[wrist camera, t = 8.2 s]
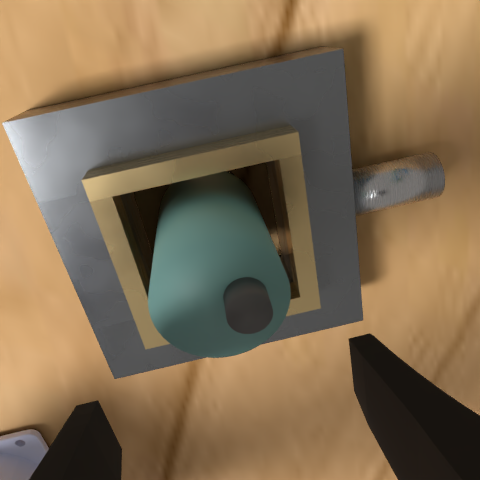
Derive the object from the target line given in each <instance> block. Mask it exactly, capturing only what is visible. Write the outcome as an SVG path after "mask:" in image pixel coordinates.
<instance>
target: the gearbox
mask: <svg viewBox="0 0 480 480" xmlns="http://www.w3.org/2000/svg"><path fill="white" fill-rule="evenodd" d="M2 124H3V126H4V128H5V131H6V133H7V135H8V137H9V140H10V142H11V144H12V147H13V149H14V151H15V153H16V156H17V158H18V160H19V163H20V165H21V167H22V169H23V172H24V174H25V176H26V178H27V181H28V183H29V185H30V188H31V190H32V192H33V194H34V197H35V199H36V201H37V203H38V206H39V208H40V210H41V213H42V215H43V217H44V219H45V222H46V224H47V226H48V229H49V231H50V233H51V235H52V238H53V240H54V242H55V244H56V247H57V249H58V251H59V254H60V256H61V258H62V260H63V263H64V265H65V267H66V269H67V272H68V274H69V276H70V279H71V281H72V283H73V285H74V288H75V290H76V292H77V294H78V297H79V299H80V301H81V304H82V306H83V308H84V310H85V313H86V315H87V317H88V320H89V322H90V324H91V326H92V329H93V331H94V333H95V335H96V338H97V340H98V342H99V345H100V347H101V349H102V351H103V354H104V356H105V358H106V360H107V363H108V365H109V367H110V370H111V372H112V374H113V376H114V379H117V378H121V377H126V376H130V375H134V374H138V373H143V372H147V371H151V370H155V369H159V368H164V367H168V366H172V365H176V364H181V363H185V362H189V361H193V360H197V359H202V358H206V357H201V356H197V355H192V354H189V353H187V352H184V351H182V350H180V349H178V348H176V347H175V346H173V345H172V344H170V343H169V342H168V341H167V340H165V339H164V338H163V337H162V336H161V334H160V333H159V332H158V331H157V329H156V328H155V326H154V324H153V322H152V320H151V317H150V313H149V308H148V293H149V285H150V278H151V270H152V262H153V253H152V250H151V247H150V244H149V241H148V238H147V235H146V232H145V229H144V225H143V222H142V219H141V216H140V213H139V210H138V207H137V204H136V201H135V198H134V195H133V192H135V191H140V190H144V189H148V188H153V187H157V186H162V185H166V184H171V183H175V182H180V181H184V180H189V179H193V178H197V177H202V176H206V175H211V174H215V173H220V172H224V171H229V170H233V169H238V168H242V167H246V166H251V165H255V164H260V163H264V162H266V166H267V172H268V178H269V184H270V190H271V196H272V202H273V208H274V214H275V220H276V226H277V232H278V238H279V244H280V250H281V256H279V258H280V260H281V262H282V265H283V267H284V269H285V272H286V274H287V276H288V279H289V283H290V290H291V298H290V305H289V309H288V312H287V314H286V317H285V319H284V321H283V322H282V324H281V325H280V327H279V328H278V329H277V331H276V332H275V333H274V334H273V335H272V336H271V337H270V338H268V339H267V340H266V341H265V342H263V343H262V344H265V343H269V342H273V341H278V340H282V339H286V338H290V337H295V336H299V335H303V334H307V333H311V332H316V331H320V330H324V329H328V328H333V327H337V326H341V325H345V324H349V323H354V322H358V321H362V320H363V311H362V298H361V284H360V270H359V257H358V243H357V229H356V216H357V215H361V214H366V213H370V212H374V211H379V210H383V209H387V208H392V207H396V206H400V205H405V204H409V203H414V202H418V201H422V200H427V199H431V198H435V197H439V196H440V195H441V194H442V192H443V190H444V186H445V176H444V170H443V167H442V164H441V162H440V160H439V159H438V157H437V156H436V155H435V154H434V153H431V152H428V153H423V154H419V155H415V156H410V157H406V158H401V159H397V160H392V161H388V162H384V163H379V164H375V165H370V166H366V167H362V168H357V169H353V170H352V161H351V147H350V134H349V120H348V106H347V92H346V79H345V65H344V51H343V49H342V48H333V47H323V46H322V47H317V48H312V49H308V50H303V51H299V52H294V53H289V54H285V55H280V56H276V57H271V58H266V59H262V60H257V61H253V62H248V63H243V64H239V65H234V66H230V67H225V68H220V69H216V70H211V71H207V72H202V73H198V74H193V75H188V76H184V77H179V78H175V79H170V80H165V81H161V82H156V83H152V84H147V85H142V86H138V87H133V88H129V89H124V90H119V91H115V92H110V93H106V94H101V95H96V96H92V97H87V98H83V99H78V100H73V101H69V102H64V103H60V104H55V105H51V106H46V107H41V108H37V109H32V110H28V111H25V112H23V113H21V114H19V115H17V116H15V117H13V118H11V119H9V120H7V121H5V122H3V123H2ZM260 345H261V344H260Z"/></svg>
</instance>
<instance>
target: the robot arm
mask: <svg viewBox="0 0 480 480" xmlns="http://www.w3.org/2000/svg"><path fill="white" fill-rule="evenodd" d="M349 345H350V355H351V364H352V374H353V383H354V391H355V394H356V396H357V399H358V401H359V404H360V406H361V409H362V411H363V413H364V416H365V418H366V421H367V423H368V425H369V427H370V429H371V431H372V433H373V435H374V436H375V438H376V440H377V442H378V444H379V446H380V447H381V449H382V451H383V453H384V455H385V457H386V458H387V460H388V462H389V464H390V466H391V468H392V469H393V471H394V473H395V475H396V477H397V478H398V480H480V415H478V414H476V413H475V412H473V411H472V410H470V409H469V408H467V407H465V406H464V405H462V404H461V403H459V402H458V401H457V400H455V399H454V398H452V397H451V396H449V395H448V394H446V393H445V392H443V391H442V390H441V389H439V388H438V387H436V386H435V385H434V384H432V383H431V382H430V381H428V380H427V379H426V378H424V377H423V376H422V375H420V374H419V373H418V372H416V371H415V370H414V369H413V368H411V367H410V366H409V365H408V364H406V363H405V362H404V361H403V360H401V359H400V358H399V357H398V356H396V355H395V354H394V353H393V352H392V351H390V350H389V349H388V348H387V347H386V346H385V345H383V344H382V343H381V342H380V341H379V340H378V339H377V338H375V337H374V336H373V335H371V334H366V335H362V336H358V337H354V338H350V339H349ZM121 460H122V449H121V446H120V444H119V442H118V440H117V438H116V436H115V434H114V432H113V430H112V428H111V426H110V424H109V422H108V420H107V418H106V416H105V414H104V412H103V410H102V408H101V405H100V403H99V401H94V402H90V403H86V404H82V405H78V406H76V407H75V409H74V411H73V412H72V414H71V415H70V417H69V418H68V420H67V421H66V423H65V424H64V426H63V428H62V429H61V431H60V432H59V434H58V435H57V437H56V439H55V440H54V442H53V443H52V445H51V446H50V448H48V446H47V444H46V443H45V441H44V439H43V438H42V436H41V434H40V433H39V432H38V431H36V430H33V429H29V430H24V431H20V432H16V433H12V434H7V435H3V436H0V480H121Z"/></svg>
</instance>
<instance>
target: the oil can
mask: <svg viewBox="0 0 480 480" xmlns="http://www.w3.org/2000/svg"><path fill="white" fill-rule="evenodd" d="M290 298H291V290H290V283H289V279H288V276H287V274H286V272H285V269H284V267H283V265H282V262H281V260H280V258H279V255H278V253H277V251H276V248H275V246H274V244H273V241H272V239H271V236H270V234H269V232H268V229H267V227H266V225H265V222H264V220H263V218H262V215H261V213H260V211H259V208H258V206H257V204H256V201H255V199H254V197H253V194H252V192H251V191H250V189H249V188H248V187H247V185H246V184H245V183H244V182H243V181H242V180H241V179H239V178H238V177H236V176H235V175H233V174H231V173H229V172H226V171H224V172H220V173H215V174H211V175H206V176H202V177H197V178H193V179H189V180H184V181H180V182H175V183H172V184H171V185H170V186H169V188H168V189H167V191H166V192H165V194H164V196H163V198H162V201H161V204H160V209H159V216H158V224H157V231H156V239H155V247H154V255H153V262H152V270H151V278H150V285H149V293H148V308H149V313H150V317H151V320H152V322H153V324H154V326H155V328H156V329H157V331H158V332H159V333H160V334H161V336H162V337H163V338H164V339H165V340H167V341H168V342H169V343H170V344H172V345H173V346H175V347H176V348H178V349H180V350H182V351H184V352H187V353H189V354H192V355H197V356H201V357H211V358H219V357H229V356H234V355H238V354H241V353H244V352H247V351H249V350H252V349H253V348H255V347H257V346H259V345H260V344H262V343H263V342H265V341H266V340H267V339H268V338H270V337H271V336H272V335H273V334H274V333H275V332H276V331H277V329H278V328H279V327H280V325H281V324H282V322H283V321H284V319H285V317H286V314H287V312H288V309H289V305H290Z"/></svg>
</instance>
